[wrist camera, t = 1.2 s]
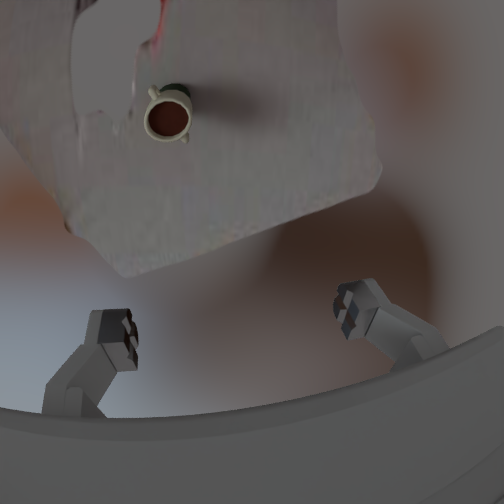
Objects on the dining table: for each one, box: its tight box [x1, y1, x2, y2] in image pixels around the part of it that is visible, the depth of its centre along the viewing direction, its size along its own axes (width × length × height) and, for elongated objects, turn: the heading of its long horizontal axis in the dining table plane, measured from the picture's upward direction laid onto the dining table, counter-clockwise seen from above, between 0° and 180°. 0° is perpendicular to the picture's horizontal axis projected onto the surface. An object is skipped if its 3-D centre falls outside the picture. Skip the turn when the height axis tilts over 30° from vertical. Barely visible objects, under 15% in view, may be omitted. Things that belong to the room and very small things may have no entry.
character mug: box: [144, 84, 193, 143], centre depth 43 cm, size 11×7×13 cm, turn 25°
